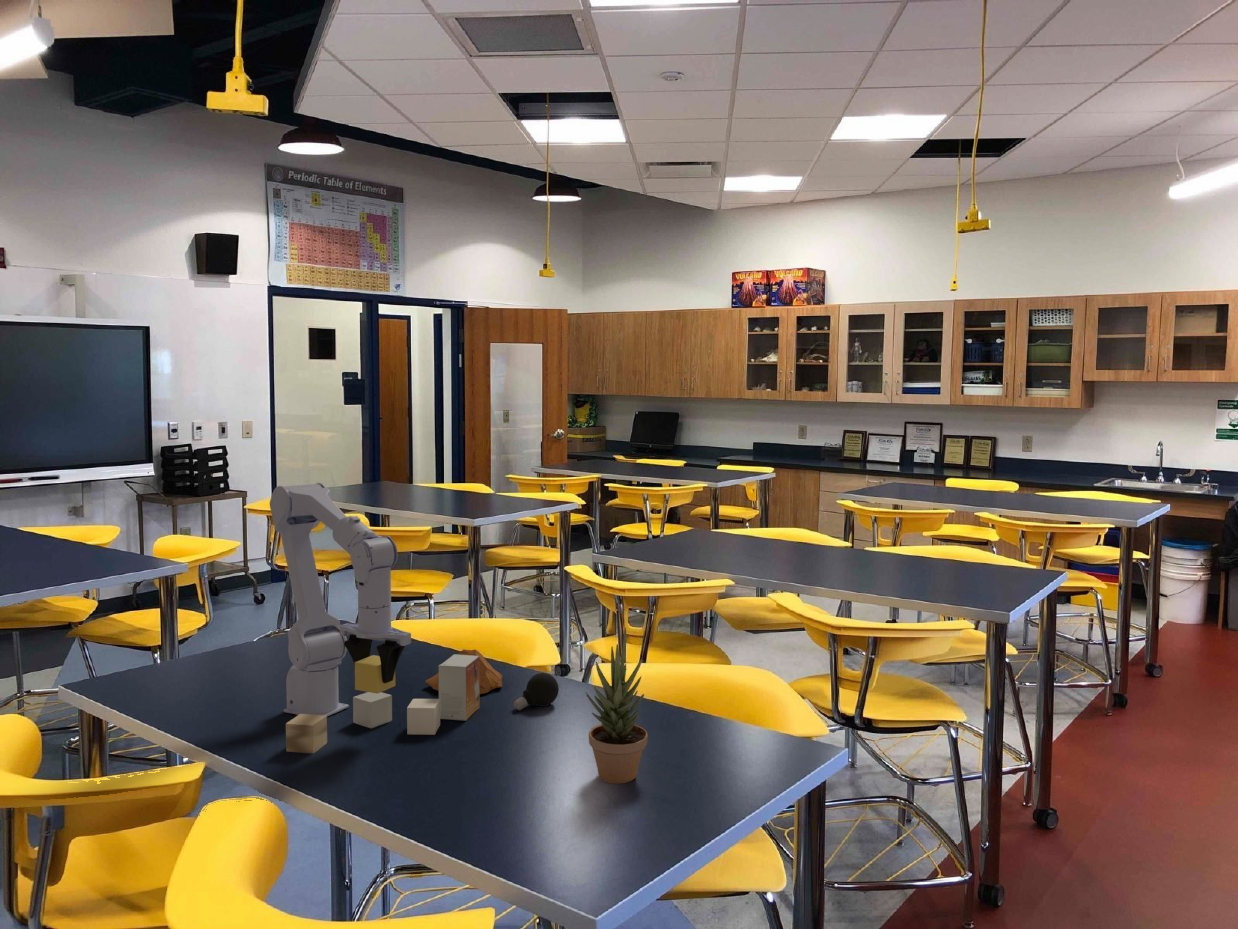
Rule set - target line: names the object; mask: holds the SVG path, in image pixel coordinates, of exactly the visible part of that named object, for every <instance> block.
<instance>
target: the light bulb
mask: <svg viewBox="0 0 1238 929" xmlns="http://www.w3.org/2000/svg"><path fill="white" fill-rule="evenodd" d="M559 691H560V688H559V684H558V681H557V679H556V678H555V677H554V676H552V675H551V674H550V673H546V672H540V673H536V674H534V675H532V677H530V679H529V680H528V682H527V684H526V687H525V690H523V692H522V696H520V697H519V698H517V699H516V700H514V701H513V707H514V709H516V710H517V711H522V710H524V709H525V708H526V707H528V706H530V707H534V706H539V707H545V706H549V705H551V704H552V703H554V701H555V700H556V699H557V698H558V695H559Z"/></svg>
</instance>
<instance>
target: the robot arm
mask: <svg viewBox="0 0 1238 929" xmlns="http://www.w3.org/2000/svg"><path fill="white" fill-rule="evenodd" d="M269 508H270V513H271V518H272V522H273V526H274V529H275V530H274V531H275V532H277V533H279V534H280V538H281V543H282V547H283V553H284V557H285V562H286V567H287V571H288V574H289V580H290V584H291V588H292V589H291V590H292V594H293V597H294V598H293V599H294V603H295V608H296V612H297V613H296V614H297V616H298V619H297V620H296V621H295V623H294V624H293V625H292V626H290V629H289V630H288V631H287V638H288V648H287V651H288V658H289V660H290V662H291V664H292V665H291V667H290V668H289V669H288V671H287V675H286V677H285V678H286V679H285V680H286V682H285V685H286V686H285V687H286V688H285V690H286V708H283V712H284V713H287V714H293V715H296V716H298V715H299V714H311V715H324V716H327V717H329V716H331V715H333V714H336V713H338V712H341V711H343V710H345V709H347V708H349V707H350V705H349V704H347V703H341V702H340V700H339V698H340V696H339V695H340V694H339V665H342V659H344V658H345V657H346V654H347V651H348V653H349V655H350V657H351V659H352V661H353V665H354V666H355V662H357V661H359V660H362V659H364V658H367V657H370V656H371V648H372V643H373V641H379V642H384V643H382V644H379V645H376V650H377V653H378V656H379V657H380V661H381V672H382V681H383V683H388V682H390V681H393V677H394V673H395V674H396V668H397V665H398V662H399V659H400V657H401V655H402V653H403V651H404V649H405V648H406V646H407V645H411V643H412V633H411V632H409V631H408V632H407V631H404V630H401V629H399V628H395V627H392V579H391V578H392V574H391V572H392V571H391V570H392V568H393V567H394V566H395V565H396V564H397V561H398V556H399V554H398V548H397V545H396V542H395V541H394V540H393V539H392V538H391V536H389V535H377V534H376V533H375V532H374V531H373V530H372V529H370V528H369V527H368V526H367V525H366V524H365V523H363V521H362V520H361V518H360V517H358V516H357V515H348V516H347V515H346V514H345V513H344V512H343V511H342V510H341V508H339V506H337V504H336V503H335V502H333V499H332V492H331V489H329V488H328V487H327V486H326V485H325V484H324V483H322V482H317V483H311V484H300V485H287V486H283V485H278V486H275V488H274V489H273V492H272V494H271V497H270V500H269ZM320 523H322V524H323V525H325V526H326V527H327V528H329V530H331V531H332V538H333V541H335V543H337V544H338V545H339V546H340V547H341V548H342V549H343V550H344V551H345V552H346V553H347V554H348V555H349V556H350V562H351V565H352V568H353V571H354V573H353V574H354V575H353V576H354V578H355V581H357V623H348V622H346V623H344V624H341V621H340V619H339V618H337V617H335V616H333V615H331V614H329V613H328V612H327V611H326V606H325V600H324V595H323V591H322V588H321V583H320V579H319V578H320V577H319V574H318V569H317V565H316V564H317V563H316V561H315V560H316V559H315V556H314V552H313V548H312V543H311V538H310V534H311V532H312V530H313V529H315V528H316V527H318V526H319V525H320ZM313 631H316V632H313ZM309 632H310V633H309ZM347 637H348V639H347Z"/></svg>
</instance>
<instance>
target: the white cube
mask: <svg viewBox="0 0 1238 929" xmlns="http://www.w3.org/2000/svg"><path fill="white" fill-rule="evenodd" d="M406 725H407V726H406V731H407V734H406V735H427V736H428V735H430V736H431V735H433V736H434V735H436V733H437V731H438V730H439V727H440V726H441V719H440V699H439V698H413V699H412V700H411V701H410V703H409V704H408V706H407V707H406Z"/></svg>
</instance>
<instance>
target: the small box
mask: <svg viewBox="0 0 1238 929" xmlns="http://www.w3.org/2000/svg"><path fill="white" fill-rule="evenodd" d="M457 654H458V653H457ZM457 654H456V653H455V654H451V656H450V657H449V658H447V659H446V660H445V661H443V662H442V663H441V664H439V665H438V672H439V691H438V699H440V720H452V721H468V719H469V718H470V717H471V716H472V715H473V714H474V713H475V712H477V711H478V710H479V709H480V707H481V705H480V703H481V701H480V698H481V696H480V695H481V694H480V656H472V655H457Z"/></svg>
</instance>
